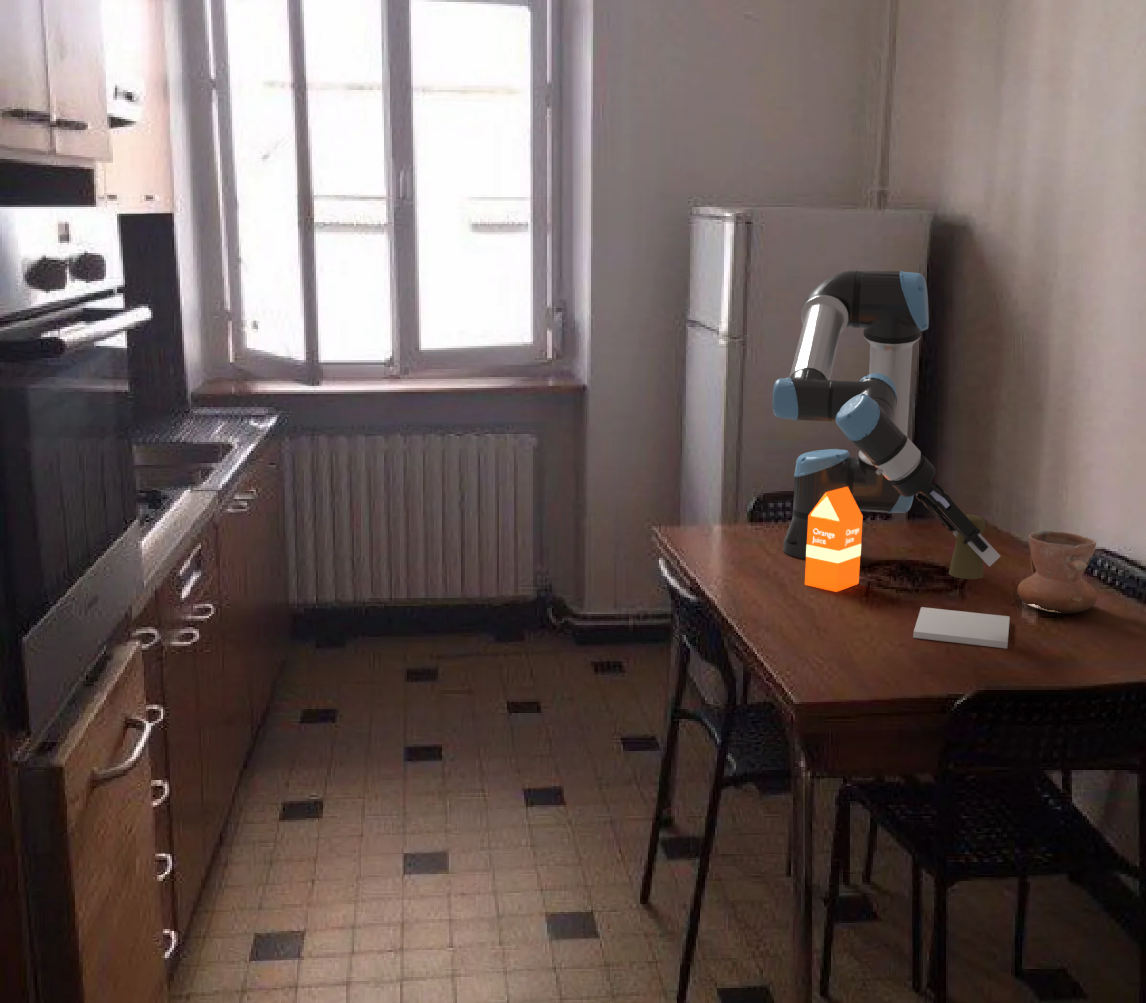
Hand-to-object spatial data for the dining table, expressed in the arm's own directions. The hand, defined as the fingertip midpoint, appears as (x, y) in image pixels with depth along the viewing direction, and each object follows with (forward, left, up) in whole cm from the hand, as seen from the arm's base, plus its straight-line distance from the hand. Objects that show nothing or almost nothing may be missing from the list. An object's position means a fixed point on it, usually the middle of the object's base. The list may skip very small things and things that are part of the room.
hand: (987, 556), depth 227 cm
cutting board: (-3, -1, -14) cm, 14 cm away
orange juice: (-30, +21, -14) cm, 39 cm away
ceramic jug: (+13, +21, -14) cm, 28 cm away
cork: (-3, -2, -3) cm, 5 cm away
